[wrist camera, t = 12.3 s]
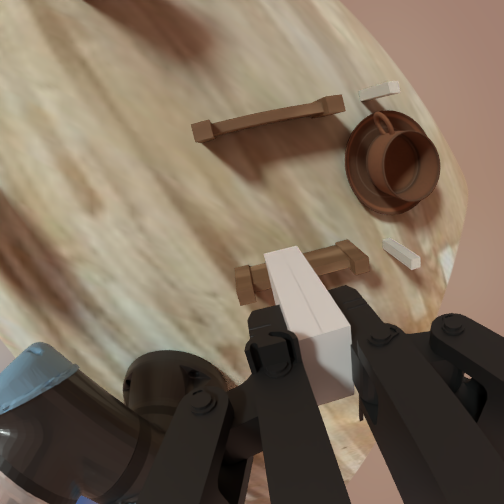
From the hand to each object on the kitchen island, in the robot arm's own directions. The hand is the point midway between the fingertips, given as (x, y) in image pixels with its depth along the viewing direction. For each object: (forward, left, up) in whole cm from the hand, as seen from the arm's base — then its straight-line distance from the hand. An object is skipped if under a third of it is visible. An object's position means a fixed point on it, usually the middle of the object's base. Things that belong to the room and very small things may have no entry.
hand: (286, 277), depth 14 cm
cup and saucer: (+1, -17, -21) cm, 26 cm away
